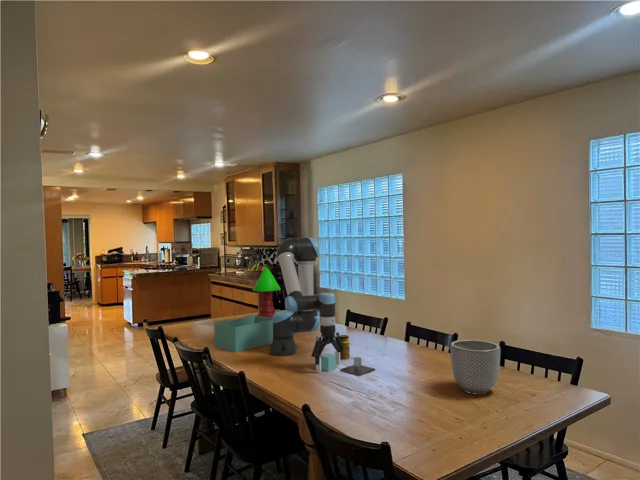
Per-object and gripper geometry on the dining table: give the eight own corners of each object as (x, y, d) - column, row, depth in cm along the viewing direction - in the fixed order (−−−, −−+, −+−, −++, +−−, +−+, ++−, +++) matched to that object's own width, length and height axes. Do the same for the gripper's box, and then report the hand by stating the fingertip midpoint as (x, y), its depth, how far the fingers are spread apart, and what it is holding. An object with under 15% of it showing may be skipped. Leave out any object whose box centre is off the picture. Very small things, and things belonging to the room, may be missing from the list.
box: (214, 347, 267) (214, 323, 267) (255, 337, 291) (255, 315, 291) (235, 352, 253) (235, 327, 253) (277, 342, 277) (276, 319, 277)
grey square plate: (340, 370, 215) (340, 357, 215) (356, 365, 224) (356, 353, 224) (359, 376, 207) (359, 362, 207) (375, 370, 215) (375, 357, 215)
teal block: (320, 369, 218) (320, 355, 218) (328, 367, 222) (328, 353, 222) (328, 371, 214) (328, 357, 214) (335, 369, 218) (335, 355, 218)
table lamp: (257, 326, 325) (256, 265, 325) (284, 326, 322) (283, 265, 322) (249, 332, 306) (248, 267, 305) (277, 332, 303) (276, 266, 302)
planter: (495, 402, 172) (495, 353, 172) (445, 393, 182) (444, 347, 182) (504, 387, 189) (504, 342, 188) (457, 380, 199) (457, 337, 199)
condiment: (352, 358, 237) (352, 336, 236) (340, 361, 232) (339, 338, 232) (344, 355, 243) (344, 333, 243) (332, 358, 238) (331, 335, 238)
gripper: (314, 329, 206) (315, 375, 206) (350, 321, 224) (350, 363, 224) (303, 327, 212) (304, 372, 212) (339, 320, 229) (339, 361, 229)
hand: (328, 367), depth 218 cm, fingers open, 13 cm apart
